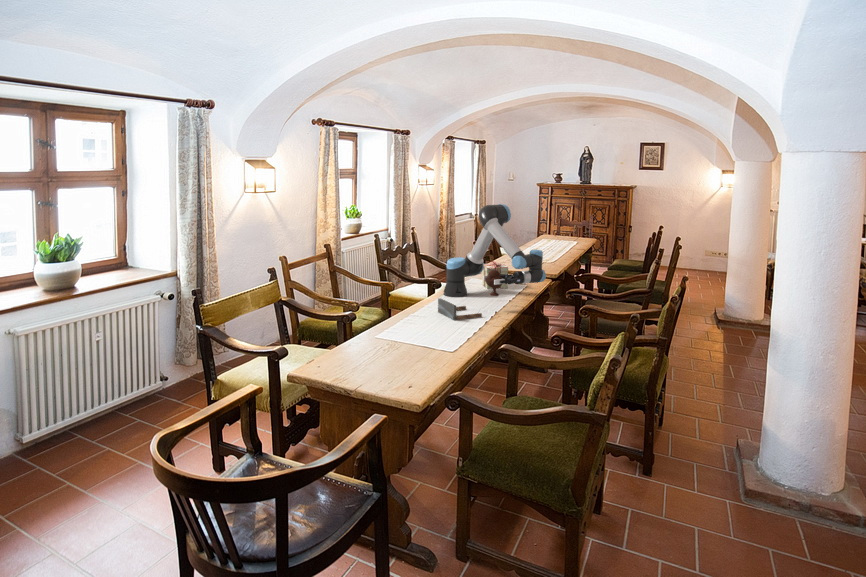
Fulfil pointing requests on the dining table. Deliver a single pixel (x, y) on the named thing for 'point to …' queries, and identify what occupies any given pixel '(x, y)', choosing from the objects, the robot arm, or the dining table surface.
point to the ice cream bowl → (490, 281)
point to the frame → (453, 310)
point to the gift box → (494, 266)
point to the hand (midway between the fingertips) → (488, 280)
